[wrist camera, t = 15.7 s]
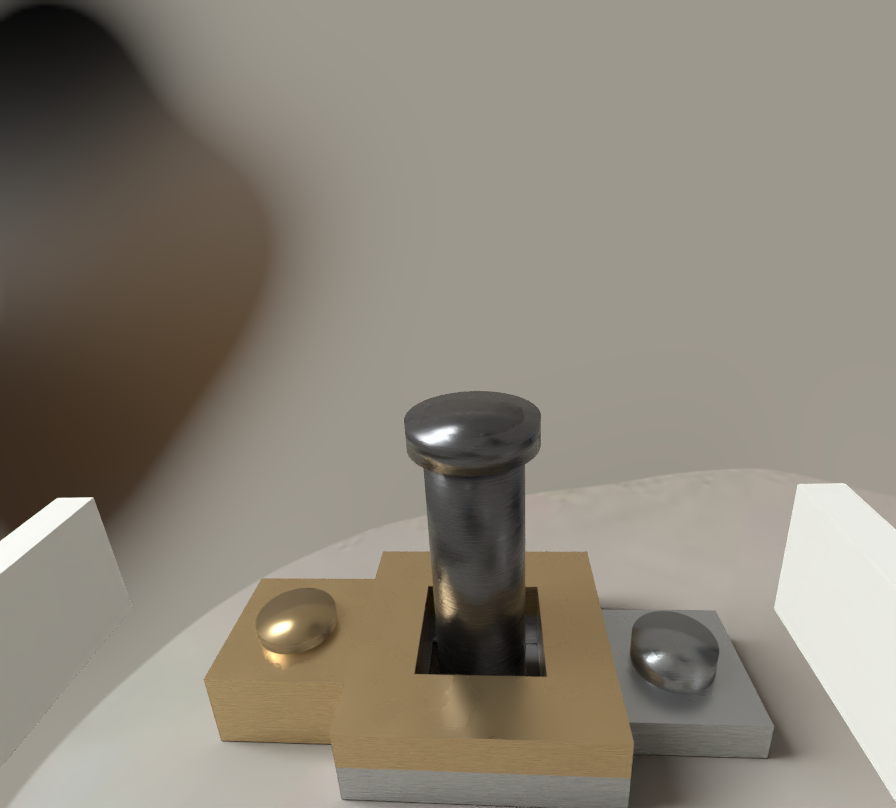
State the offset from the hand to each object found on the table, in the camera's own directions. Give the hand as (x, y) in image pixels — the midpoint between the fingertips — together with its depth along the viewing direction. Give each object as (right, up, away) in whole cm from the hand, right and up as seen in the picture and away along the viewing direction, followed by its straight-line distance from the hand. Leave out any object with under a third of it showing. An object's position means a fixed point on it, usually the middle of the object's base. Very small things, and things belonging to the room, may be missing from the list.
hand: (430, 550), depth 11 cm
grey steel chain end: (+5, -11, +16) cm, 20 cm away
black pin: (+2, -11, +16) cm, 19 cm away
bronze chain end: (-1, -11, +16) cm, 20 cm away
